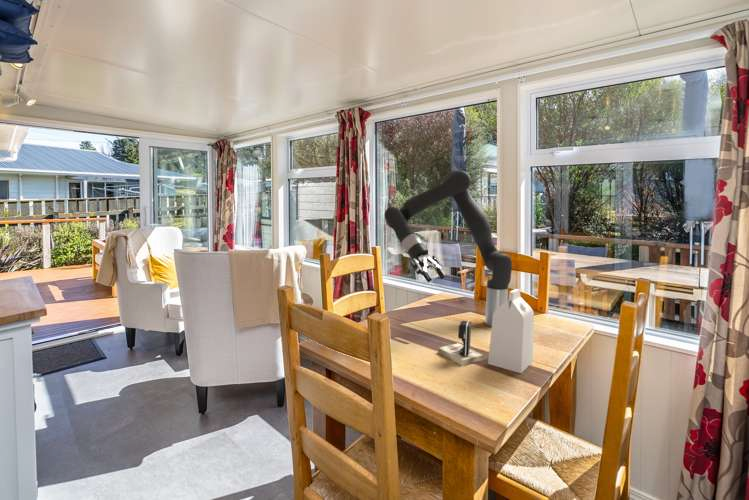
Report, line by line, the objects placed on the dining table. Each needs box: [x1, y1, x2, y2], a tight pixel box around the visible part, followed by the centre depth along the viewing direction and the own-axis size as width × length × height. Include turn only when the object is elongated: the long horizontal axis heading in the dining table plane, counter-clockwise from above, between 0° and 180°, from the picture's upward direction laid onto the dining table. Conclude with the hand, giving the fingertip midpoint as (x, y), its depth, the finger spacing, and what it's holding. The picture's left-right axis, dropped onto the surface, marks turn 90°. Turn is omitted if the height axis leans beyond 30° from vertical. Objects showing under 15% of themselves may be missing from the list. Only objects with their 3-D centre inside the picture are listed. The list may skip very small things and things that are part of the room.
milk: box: [487, 288, 535, 374], centre depth 135 cm, size 12×12×26 cm
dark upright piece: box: [457, 320, 472, 356], centre depth 139 cm, size 7×4×11 cm, turn 160°
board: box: [437, 342, 485, 367], centre depth 142 cm, size 10×13×2 cm
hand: (437, 279), depth 151 cm, fingers open, 8 cm apart
